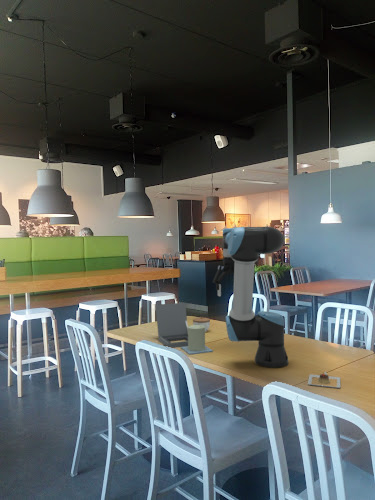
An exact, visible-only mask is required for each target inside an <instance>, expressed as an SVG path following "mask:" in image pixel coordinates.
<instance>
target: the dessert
mask: <svg viewBox="0 0 375 500" xmlns="http://www.w3.org/2000/svg"><path fill="white" fill-rule="evenodd" d="M313 378H318V383H319V384H313V383H312V381H313ZM331 379H332V380H336V386H331V385H329V384H331ZM307 385H308V386H314V387H322V388H334V389H340V388H341V377H339V376H330V375H328V373H327V371H324V372H323V373H321V374H320V375H318V374H308V381H307Z"/></svg>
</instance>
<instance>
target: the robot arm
mask: <svg viewBox="0 0 375 500" xmlns="http://www.w3.org/2000/svg"><path fill="white" fill-rule="evenodd" d="M284 244H285V236H284V234H283V232H282V231H281V230H279V229H277V228H275V227H272V226H238V227H237V226H236V227H233V228H232V227H230V228H228V227H227V228H223V229H222V256H223V257H222V261H223V262H222V263H223V264H222V265H223V266H222V265H218V266H217V271H216V273H215V274H214V277H213V279H212V284H215V290H216V291H217V296H218V297H221V296H222V285H221V284H220V283H221V282H222V281H223V279H224V278H225V276H226V275H230V274H233V294H232V309H231V310H229V312H228V315H226V316H225V326H226V332H227V336H228V340H229V341H231V342H237V343H238V342H258V345H257V349H256V353H255V356H254V363H255V364H256V365H258V366H260V367H264V368H275V369H276V368H284V367H287V366H288V365H289V356H288V354H287V351H286V348H285V319H284V316H283V315H282V314H280V313H277V312H272V311H266V310H265V311H264V310H262V311H260V310H259V311H258V312H257V314H256V312H254V310H253V299H254V298H253V297H254V296H253V294H254V282H255V280H254V277H255V263H256V262H257V261H258V260H259V256H260V255H270V254H273V253H275V252H278V251H280V250H281V249H282V247H283V246H284ZM221 272H222V273H221Z"/></svg>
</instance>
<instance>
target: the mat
mask: <svg viewBox="0 0 375 500" xmlns="http://www.w3.org/2000/svg"><path fill="white" fill-rule="evenodd" d="M205 348H206V349H205V350H202V351H191V350H188V346H184V347H180V349H181V350H182V351H184V352H185V353H186V354H187V355H197V354H205V353H213V352H214V350H213V349H211V348H209V347H208V346H206V345H205Z"/></svg>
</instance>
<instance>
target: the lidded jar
mask: <svg viewBox="0 0 375 500" xmlns="http://www.w3.org/2000/svg"><path fill="white" fill-rule="evenodd" d="M210 321H211V319H210V317H209V318H208V317H203V316H200V317H195V318H193V319H192V325H202V326H205V333H206V332H207V331H208V330H209V329H210V325H211V322H210Z"/></svg>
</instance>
